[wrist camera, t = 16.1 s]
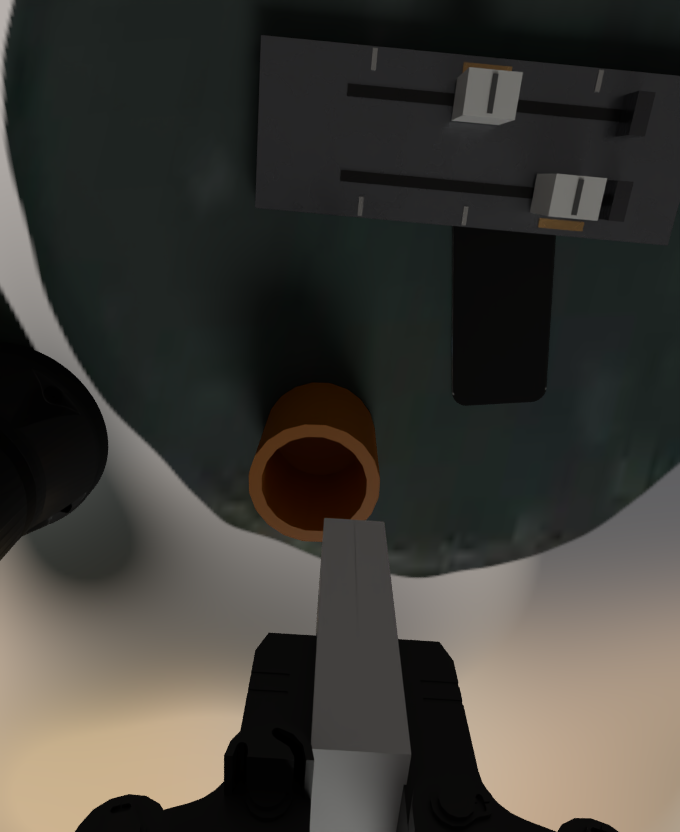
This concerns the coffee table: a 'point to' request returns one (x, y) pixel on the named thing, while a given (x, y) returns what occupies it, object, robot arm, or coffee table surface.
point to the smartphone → (500, 315)
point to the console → (462, 140)
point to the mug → (315, 461)
